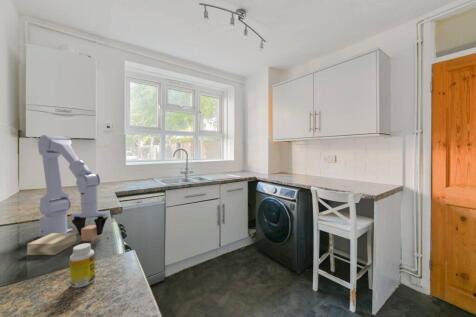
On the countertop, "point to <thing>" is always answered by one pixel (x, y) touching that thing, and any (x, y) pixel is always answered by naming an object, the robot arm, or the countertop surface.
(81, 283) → the supplement bottle
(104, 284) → the countertop surface
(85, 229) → the block
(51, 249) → the base
